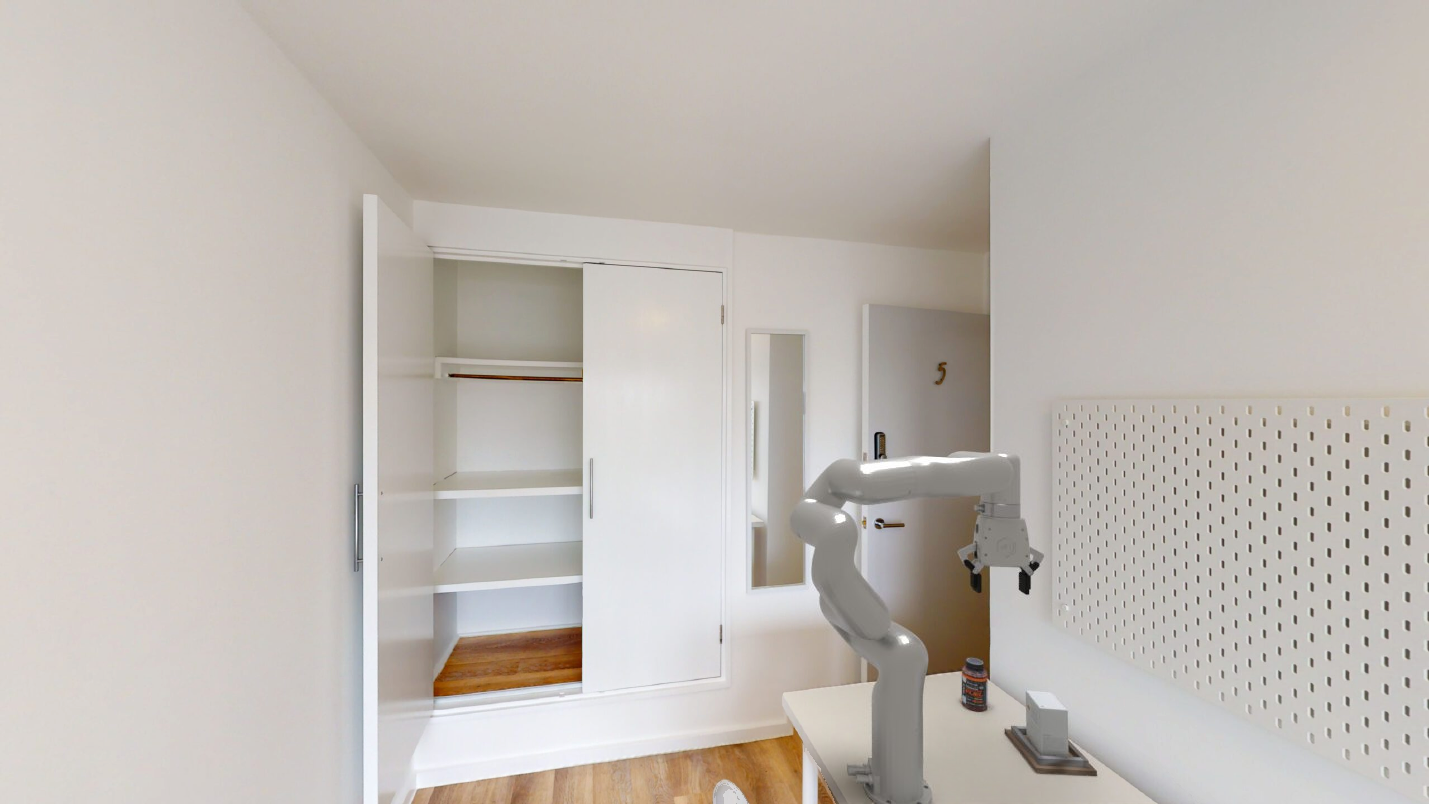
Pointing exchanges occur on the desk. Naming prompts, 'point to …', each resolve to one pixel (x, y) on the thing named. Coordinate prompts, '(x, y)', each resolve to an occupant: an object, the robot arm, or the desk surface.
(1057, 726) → the small box
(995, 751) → the desk surface
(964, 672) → the supplement bottle
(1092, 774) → the brown flat frame
